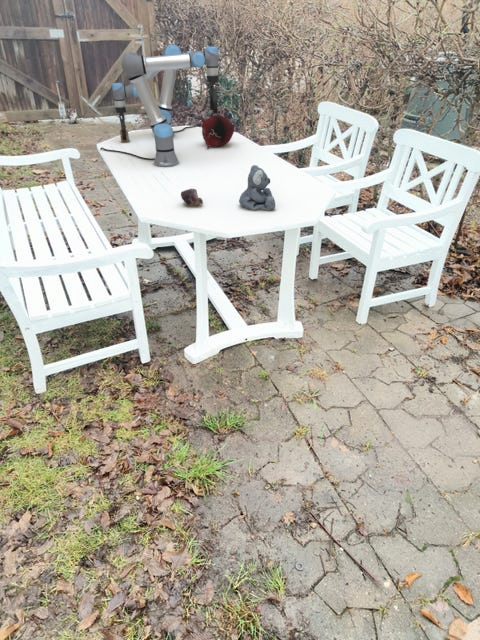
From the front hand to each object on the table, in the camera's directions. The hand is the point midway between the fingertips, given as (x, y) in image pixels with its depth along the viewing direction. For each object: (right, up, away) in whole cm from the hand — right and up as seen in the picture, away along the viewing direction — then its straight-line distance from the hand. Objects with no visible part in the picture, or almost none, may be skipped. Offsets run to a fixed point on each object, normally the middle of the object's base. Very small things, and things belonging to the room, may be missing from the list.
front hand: (213, 111), depth 295 cm
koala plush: (+26, -79, -66) cm, 106 cm away
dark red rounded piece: (+1, -7, +39) cm, 40 cm away
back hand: (-71, +3, +49) cm, 87 cm away
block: (-71, +1, +51) cm, 87 cm away
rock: (-8, -78, -64) cm, 101 cm away
